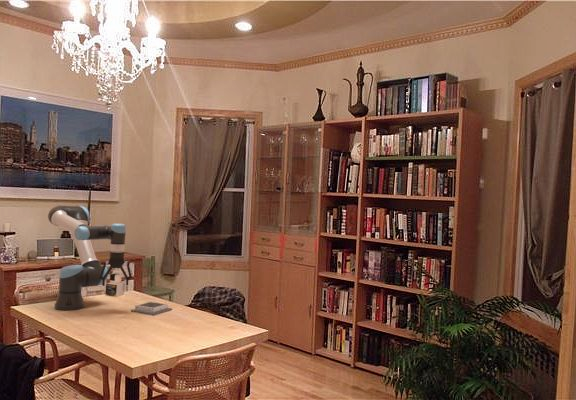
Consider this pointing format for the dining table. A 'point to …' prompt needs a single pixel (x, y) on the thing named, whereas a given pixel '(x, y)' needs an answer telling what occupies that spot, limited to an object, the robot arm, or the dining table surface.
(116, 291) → the medicine bottle
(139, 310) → the square holder
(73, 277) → the robot arm
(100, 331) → the dining table surface
